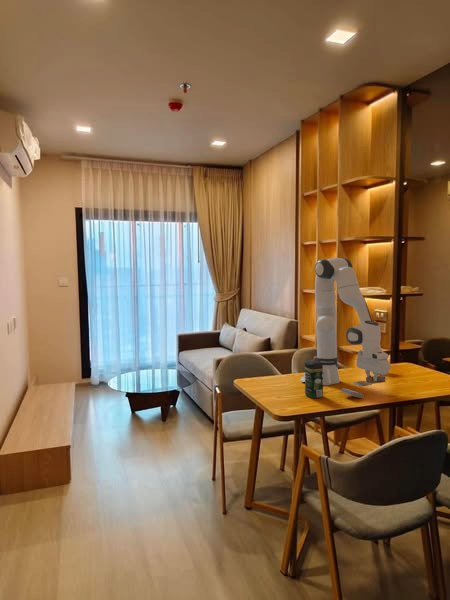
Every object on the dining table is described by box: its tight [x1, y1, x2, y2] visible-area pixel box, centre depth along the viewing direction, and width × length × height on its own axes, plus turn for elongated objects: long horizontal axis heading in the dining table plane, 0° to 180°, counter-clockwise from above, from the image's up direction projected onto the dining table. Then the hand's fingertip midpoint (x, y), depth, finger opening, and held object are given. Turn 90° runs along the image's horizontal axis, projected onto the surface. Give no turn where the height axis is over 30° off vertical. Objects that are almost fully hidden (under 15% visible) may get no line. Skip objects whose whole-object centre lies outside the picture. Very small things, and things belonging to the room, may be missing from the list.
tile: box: [340, 387, 365, 399], centre depth 203 cm, size 2×7×8 cm
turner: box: [352, 375, 386, 388], centre depth 207 cm, size 17×6×3 cm, turn 111°
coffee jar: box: [304, 359, 324, 399], centre depth 207 cm, size 10×8×19 cm
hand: (371, 379), depth 208 cm, fingers closed on turner, 3 cm apart
